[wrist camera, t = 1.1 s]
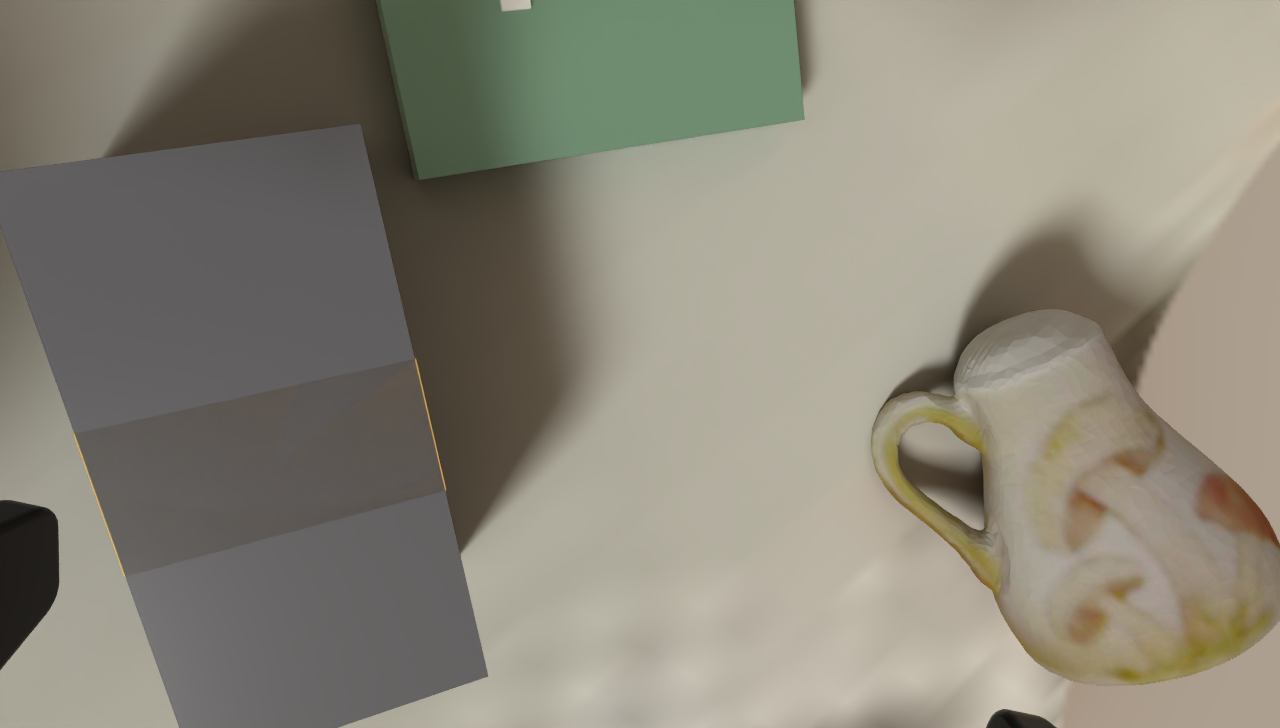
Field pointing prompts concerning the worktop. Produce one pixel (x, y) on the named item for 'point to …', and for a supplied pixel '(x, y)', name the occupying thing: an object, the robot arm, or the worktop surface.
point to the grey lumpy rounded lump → (1092, 510)
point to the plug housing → (251, 423)
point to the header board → (583, 75)
